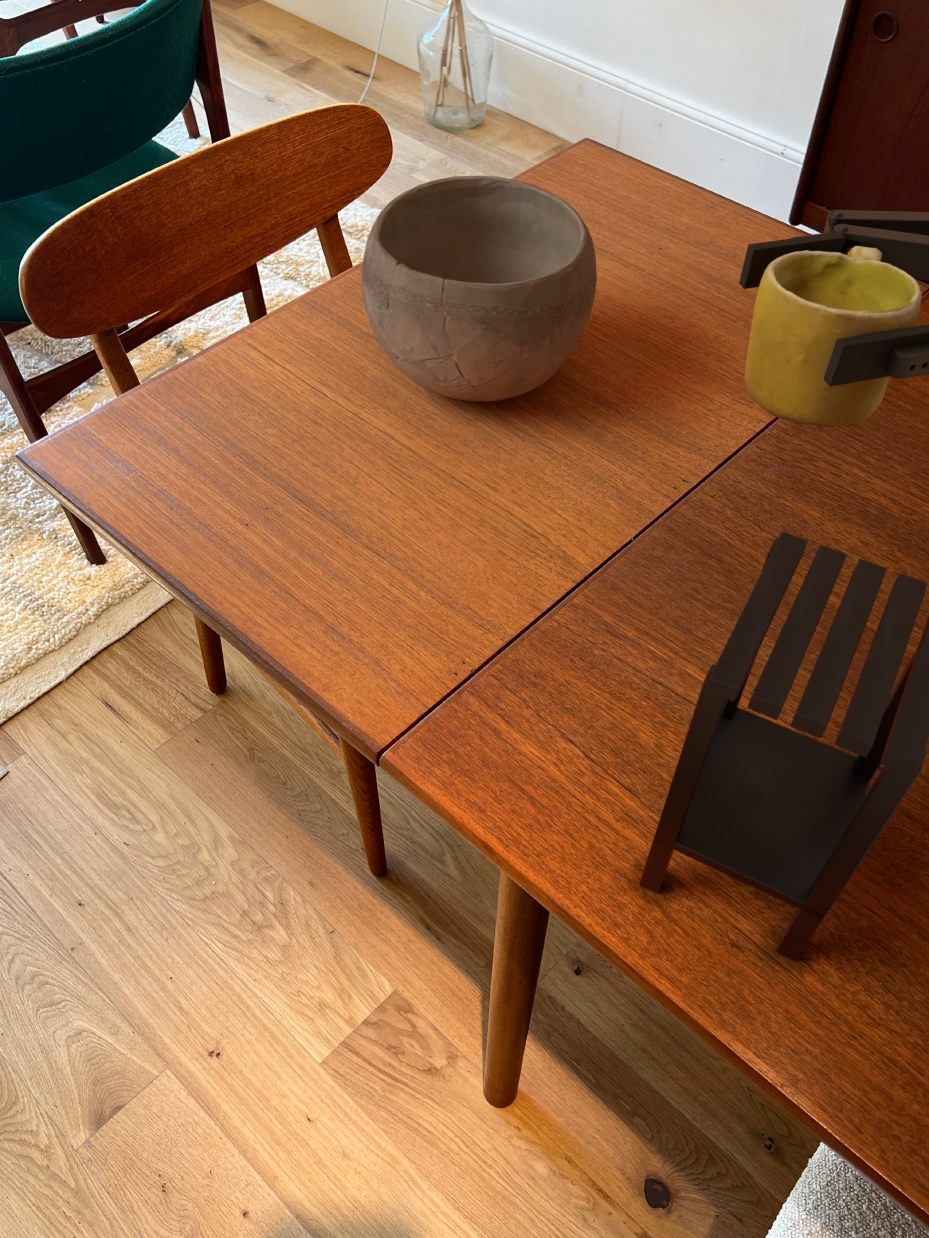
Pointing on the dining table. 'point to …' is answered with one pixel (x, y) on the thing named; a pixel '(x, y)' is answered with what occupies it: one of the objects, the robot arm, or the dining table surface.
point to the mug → (822, 331)
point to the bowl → (478, 285)
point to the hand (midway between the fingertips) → (787, 312)
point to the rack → (800, 742)
